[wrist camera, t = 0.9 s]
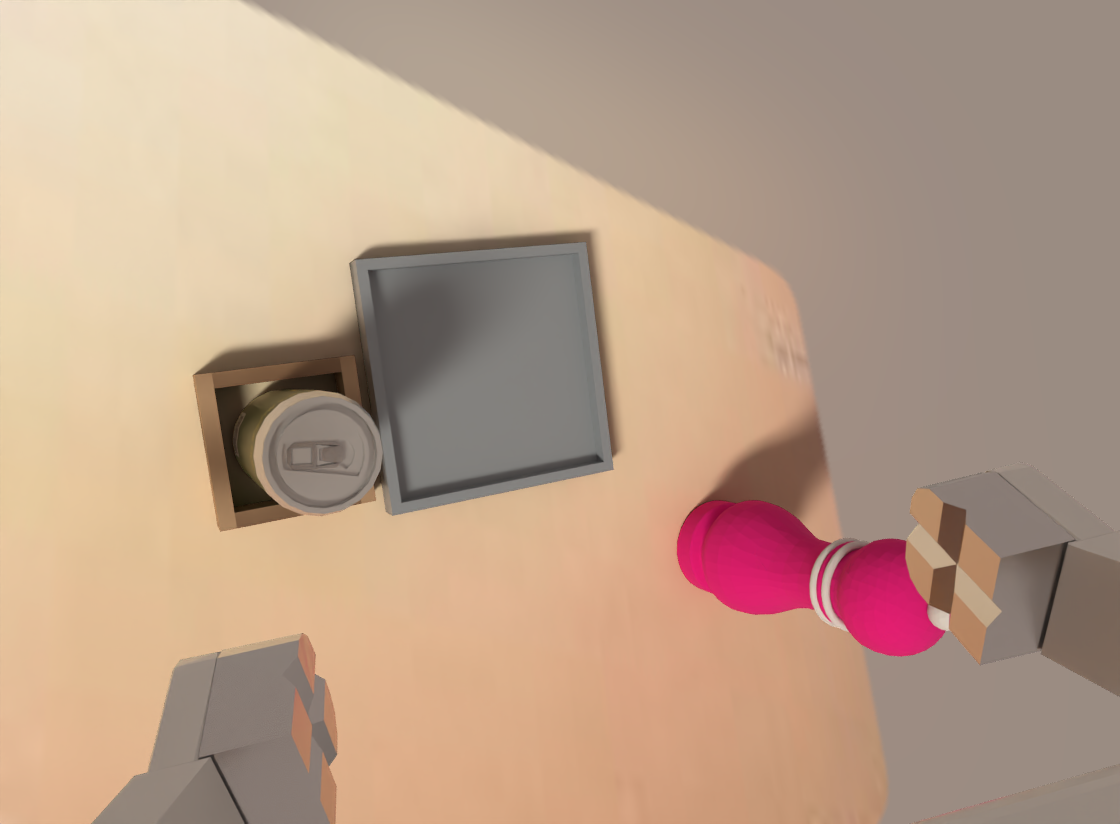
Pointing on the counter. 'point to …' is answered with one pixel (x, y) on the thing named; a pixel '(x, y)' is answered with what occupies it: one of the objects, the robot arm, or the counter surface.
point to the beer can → (309, 449)
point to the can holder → (213, 439)
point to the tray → (481, 371)
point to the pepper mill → (807, 575)
